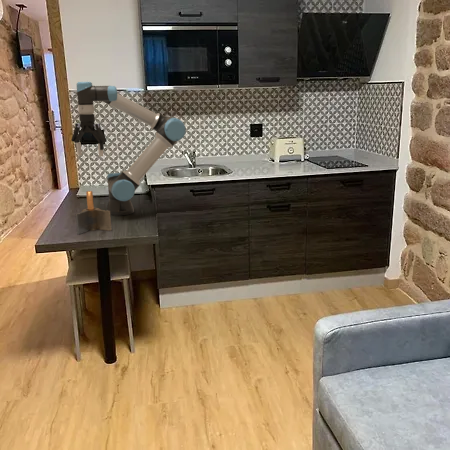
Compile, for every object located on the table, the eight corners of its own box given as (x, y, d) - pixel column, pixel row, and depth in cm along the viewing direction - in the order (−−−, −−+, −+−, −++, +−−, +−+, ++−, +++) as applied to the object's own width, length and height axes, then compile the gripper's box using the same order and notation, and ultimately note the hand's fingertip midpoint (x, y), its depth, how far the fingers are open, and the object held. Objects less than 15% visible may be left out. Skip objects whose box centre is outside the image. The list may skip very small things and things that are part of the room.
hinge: (91, 226, 242) (89, 207, 239) (114, 229, 237) (113, 209, 234) (73, 233, 229) (71, 213, 227) (97, 236, 224) (95, 216, 221)
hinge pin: (92, 227, 240) (88, 190, 235) (96, 227, 239) (93, 191, 234) (88, 228, 237) (84, 192, 232) (93, 229, 236) (89, 192, 231)
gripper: (61, 113, 239) (66, 155, 244) (102, 114, 229) (105, 157, 235) (71, 113, 245) (75, 153, 251) (111, 113, 236) (114, 155, 242)
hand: (90, 155), depth 243 cm, fingers open, 13 cm apart
